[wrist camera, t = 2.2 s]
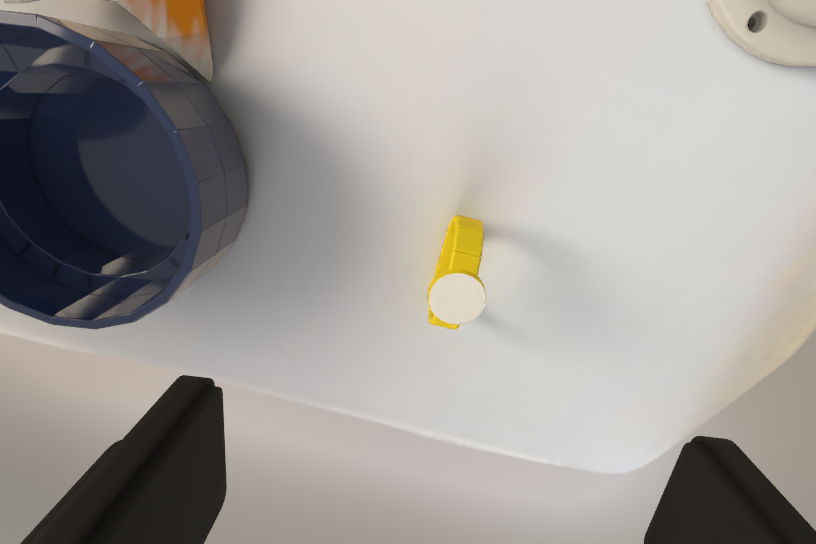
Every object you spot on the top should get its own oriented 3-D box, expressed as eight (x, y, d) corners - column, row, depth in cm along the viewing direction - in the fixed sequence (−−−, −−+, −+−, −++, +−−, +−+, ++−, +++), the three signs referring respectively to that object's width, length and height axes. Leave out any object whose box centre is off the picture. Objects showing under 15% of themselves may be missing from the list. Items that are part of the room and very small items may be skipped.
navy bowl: (246, 47, 23) (186, 30, 17) (254, 293, 28) (210, 342, 22) (-23, 18, 23) (-169, -8, 17) (35, 269, 28) (-64, 312, 22)
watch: (442, 201, 25) (445, 230, 20) (489, 212, 25) (505, 244, 20) (417, 294, 27) (414, 344, 22) (461, 304, 27) (468, 356, 22)
